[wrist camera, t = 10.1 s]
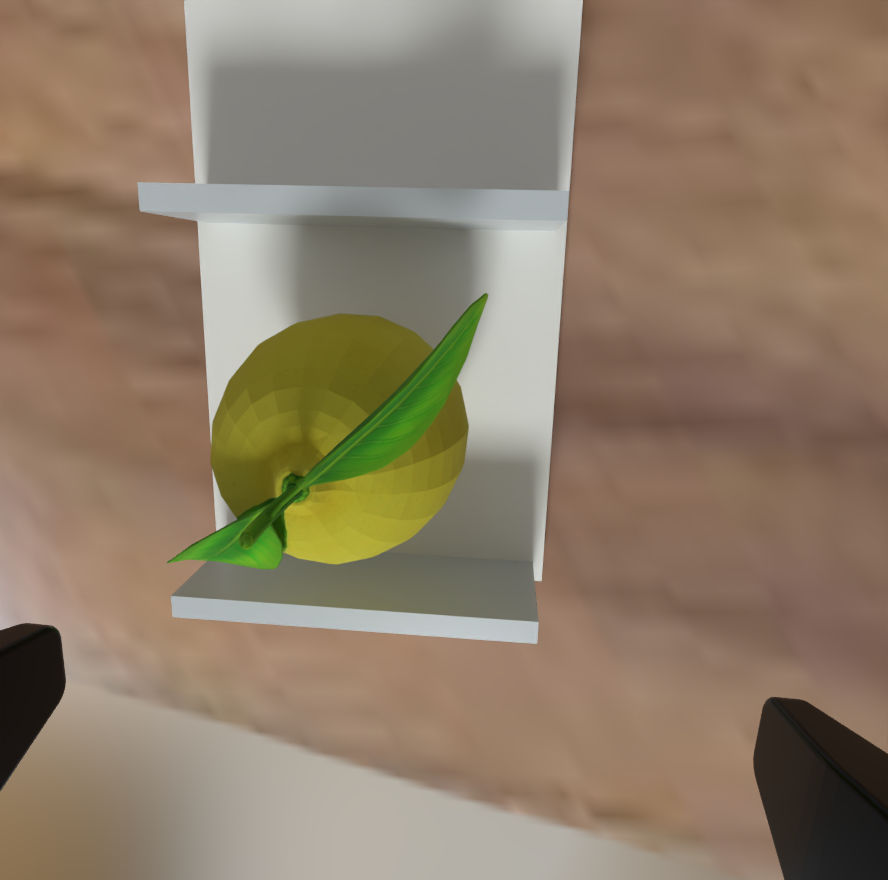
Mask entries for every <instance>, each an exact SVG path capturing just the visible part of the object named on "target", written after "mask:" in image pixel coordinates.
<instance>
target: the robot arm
mask: <svg viewBox="0 0 888 880" xmlns="http://www.w3.org/2000/svg"><path fill="white" fill-rule="evenodd" d="M65 684H66V677H65V668H64V660H63V651H62V642H61V636H60V633H59V631H58V630H57V629H56V628H55V627H54V626H50V625H41V624H31V623H24V624H19V625H16V626H13V627H10V628H6V629H3V630H0V791H1V790H2V788H3V786H4V785H5V784H6V782H7V781H8V779H9V777H10V776H11V775H12V773H13V771H14V770H15V768H16V767H17V765H18V764H19V762H20V761H21V759H22V758H23V756H24V755H25V753H26V752H27V750H28V749H29V747H30V746H31V744H32V743H33V741H34V740H35V738H36V737H37V735H38V734H39V732H40V731H41V729H42V728H43V726H44V724H45V723H46V722H47V720H48V719H49V717H50V716H51V714H52V713H53V711H54V710H55V708H56V706H57V705H58V704H59V702H60V700H61V698H62V696H63V693H64V690H65ZM753 765H754V773H755V778H756V781H757V785H758V788H759V792H760V796H761V799H762V803H763V806H764V810H765V813H766V817H767V820H768V824H769V827H770V831H771V834H772V838H773V841H774V845H775V848H776V852H777V855H778V859H779V862H780V866H781V869H782V873H783V876H784V880H888V754H887V753H886V752H884V751H883V750H881V749H880V748H878V747H876V746H875V745H873V744H872V743H870V742H869V741H867V740H866V739H864V738H862V737H861V736H859V735H858V734H856V733H855V732H853V731H852V730H850V729H848V728H847V727H845V726H844V725H842V724H841V723H839V722H838V721H836V720H834V719H833V718H831V717H830V716H828V715H827V714H825V713H824V712H822V711H821V710H819V709H817V708H816V707H814V706H813V705H811V704H810V703H808V702H806V701H804V700H800V699H790V698H780V697H771V698H769V699H768V700H766V702H765V704H764V706H763V709H762V714H761V719H760V724H759V729H758V735H757V740H756V745H755V750H754V757H753Z"/></svg>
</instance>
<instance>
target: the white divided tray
mask: <svg viewBox="0 0 888 880" xmlns="http://www.w3.org/2000/svg"><path fill="white" fill-rule="evenodd" d="M582 5H583V0H184V6H185V23H186V39H187V56H188V72H189V89H190V105H191V122H192V138H193V155H194V171H195V184H194V183H143V182H138V195H139V207H140V211H142V212H148V213H153V214H159V215H165V216H171V217H177V218H183V219H188V220H194V221H198V237H199V254H200V270H201V287H202V303H203V320H204V336H205V353H206V369H207V386H208V402H209V419H210V435H211V441H212V422H213V419H214V417H215V414H216V412H217V409H218V407H219V404H220V402H221V399H222V397H223V394H224V392H225V389H226V387H227V384H228V382H229V380H230V378H231V377H232V376H233V375H234V374H235V372H236V371H237V370H238V369H239V367H240V366H241V365H242V364H243V362H244V361H245V360H246V359H247V358H248V356H249V355H250V354H251V353H252V351H253V350H254V349H255V348H256V347H257V345H258V344H260V343H262V342H263V341H265V340H266V339H268V338H270V337H272V336H274V335H275V334H277V333H279V332H281V331H282V330H284V329H286V328H288V327H289V326H291V325H293V324H295V323H297V322H302V321H307V320H312V319H316V318H321V317H326V316H330V315H335V314H340V313H341V314H356V315H370V316H379V317H382V318H385V319H387V320H389V321H391V322H394V323H396V324H398V325H400V326H403V327H405V328H407V329H410V330H412V331H414V332H415V333H417V334H418V335H419V336H420V337H421V338H422V339H423V340H424V341H425V342H426V343H428V344H429V345H430V346H431V347H432V348H433V349H435V347H436V346H437V345H438V344H439V343H440V342H441V341H442V339H443V338H444V337H445V335H446V334H447V333H448V331H449V330H450V329H451V327H452V326H453V325H454V324H455V323H456V321H457V320H458V319H459V318H460V317H461V316H462V314H463V313H464V312H465V311H466V310H467V308H468V307H469V306H470V305H471V304H472V303H473V302H475V301H476V300H477V299H478V298H480V297H481V296H482V295H483V294H485V293H487V294H488V299H487V302H486V304H485V307H484V310H483V312H482V315H481V318H480V320H479V323H478V326H477V329H476V332H475V335H474V338H473V341H472V344H471V347H470V350H469V353H468V356H467V359H466V361H465V363H464V365H463V367H462V369H461V372H460V374H459V376H458V378H457V381H458V383H459V385H460V386H461V390H462V395H463V399H464V404H465V409H466V414H467V419H468V424H469V430H468V438H467V446H466V454H465V462H464V465H463V468H462V470H461V472H460V474H459V476H458V478H457V480H456V482H455V485H454V487H453V489H452V491H451V493H450V495H449V497H448V499H447V501H446V503H445V504H444V505H443V507H442V508H441V509H440V510H439V511H438V512H437V513H436V514H435V515H434V516H433V517H432V518H431V519H430V520H429V521H428V522H427V523H426V525H425V526H424V527H423V528H422V529H421V530H420V531H419V532H418V533H417V534H415V535H414V536H413V537H412V538H411V539H409V540H407V541H405V542H403V543H401V544H399V545H397V546H395V547H393V548H391V549H389V550H387V551H385V552H383V553H381V554H379V555H376V556H374V557H371V558H366V559H362V560H357V561H352V562H347V563H342V564H328V563H322V562H316V561H310V560H304V559H299V558H296V557H294V556H291V555H289V554H286V553H284V552H283V558H282V560H281V562H280V564H279V566H278V567H277V568H275V569H257V568H251V567H245V566H240V565H234V564H229V563H223V562H217V561H207V562H206V563H205V564H204V565H203V566H202V567H200V568H199V569H198V570H197V571H196V572H195V573H194V574H193V575H192V576H191V577H190V578H189V579H188V580H187V581H186V582H185V583H184V584H183V585H182V586H181V587H180V588H179V589H178V590H177V591H176V592H175V593H174V594H173V595H172V596H171V603H172V615H173V617H179V618H193V619H206V620H220V621H233V622H247V623H261V624H274V625H288V626H301V627H315V628H329V629H342V630H356V631H370V632H383V633H397V634H410V635H424V636H438V637H451V638H465V639H478V640H492V641H506V642H519V643H533V644H537V636H538V612H537V601H536V591H535V581H542V567H543V553H544V539H545V525H546V511H547V497H548V482H549V468H550V454H551V440H552V426H553V412H554V398H555V384H556V370H557V356H558V342H559V328H560V314H561V300H562V286H563V272H564V258H565V244H566V230H567V216H568V202H569V188H570V174H571V160H572V146H573V132H574V118H575V104H576V90H577V76H578V62H579V47H580V33H581V19H582ZM213 485H214V501H215V518H216V531H217V530H219V529H221V528H223V527H225V526H226V525H228V524H230V523H232V522H234V521H236V520H237V518H236V517H235V515H234V514H233V513H232V511H231V510H230V508H229V507H228V505H227V504H226V502H225V501H224V499H223V498H222V497H221V495H220V491H219V488H218V485H217V482H216V479H215V476H214V473H213Z"/></svg>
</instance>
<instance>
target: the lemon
mask: <svg viewBox="0 0 888 880" xmlns="http://www.w3.org/2000/svg"><path fill="white" fill-rule="evenodd" d="M487 299H488V294H487V293H485V294H483V295H482V296H481V297H480V298H478V299H477V300H476V301H475V302H473V303H472V304H471V305H470V306H469V307H468V308H467V310H466V311H465V312H464V313H463V314H462V316H461V317H460V318H459V319H458V320H457V321H456V323H455V324H454V325H453V326H452V327H451V329H450V330H449V331H448V333H447V334H446V335H445V337H444V338H443V339H442V341H441V342H440V343H439V344H438V345H437V346H436V347H435V349H433V348H432V347H431V346H430V345H429V344H428V343H426V342H425V341H424V340H423V339H422V338H421V337H420V336H419V335H418V334H417V333H415V332H414V331H412V330H410V329H407V328H405V327H403V326H400V325H398V324H396V323H394V322H391V321H389V320H387V319H385V318H382V317H379V316H370V315H356V314H341V313H340V314H335V315H330V316H326V317H321V318H316V319H312V320H307V321H302V322H297V323H295V324H293V325H291V326H289V327H288V328H286V329H284V330H282V331H281V332H279V333H277V334H275V335H274V336H272V337H270V338H268V339H266V340H265V341H263V342H262V343H260V344H258V345H257V347H256V348H255V349H254V350H253V351H252V353H251V354H250V355H249V356H248V358H247V359H246V360H245V361H244V362H243V364H242V365H241V366H240V367H239V369H238V370H237V371H236V372H235V374H234V375H233V376H232V377H231V378H230V380H229V382H228V384H227V387H226V389H225V392H224V394H223V397H222V399H221V402H220V404H219V407H218V409H217V412H216V414H215V417H214V419H213V422H212V441H211V466H212V469H213V473H214V476H215V479H216V482H217V485H218V488H219V491H220V495H221V497H222V498H223V499H224V501H225V502H226V504H227V505H228V507H229V508H230V510H231V511H232V513H233V514H234V515H235V517H236V518H237V520H236V521H234V522H232V523H230V524H228V525H226V526H225V527H223V528H221V529H219V530H217V531H216V532H214V533H212V534H210V535H209V536H207V537H205V538H203V539H201V540H200V541H198V542H196V543H194V544H192V545H191V546H189V547H188V548H186V549H185V550H184V551H182V552H181V553H180V554H178V555H177V556H175V557H174V558H173V559H171V560H170V561H168V562H167V563H171V562H177V561H182V560H203V561H217V562H223V563H229V564H234V565H240V566H245V567H251V568H257V569H275V568H277V567H278V566H279V564H280V562H281V560H282V558H283V552H284V553H286V554H289V555H291V556H294V557H296V558H299V559H304V560H310V561H316V562H322V563H328V564H342V563H347V562H352V561H357V560H362V559H366V558H371V557H374V556H376V555H379V554H381V553H383V552H385V551H387V550H389V549H391V548H393V547H395V546H397V545H399V544H401V543H403V542H405V541H407V540H409V539H411V538H412V537H413V536H414V535H415V534H417V533H418V532H419V531H420V530H421V529H422V528H423V527H424V526H425V525H426V523H427V522H428V521H429V520H430V519H431V518H432V517H433V516H434V515H435V514H436V513H437V512H438V511H439V510H440V509H441V508H442V507H443V505H444V504H445V503H446V501H447V499H448V497H449V495H450V493H451V491H452V489H453V487H454V485H455V482H456V480H457V478H458V476H459V474H460V472H461V470H462V468H463V465H464V462H465V454H466V446H467V438H468V430H469V424H468V419H467V414H466V409H465V404H464V399H463V395H462V390H461V386H460V385H459V383H458V381H457V378H458V376H459V374H460V372H461V369H462V367H463V365H464V363H465V361H466V359H467V356H468V353H469V350H470V347H471V344H472V341H473V338H474V335H475V332H476V329H477V326H478V323H479V320H480V318H481V315H482V312H483V310H484V307H485V304H486V302H487Z"/></svg>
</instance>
